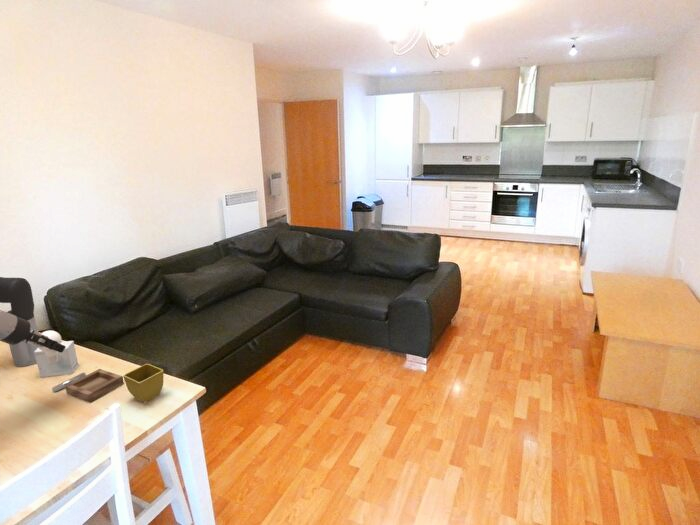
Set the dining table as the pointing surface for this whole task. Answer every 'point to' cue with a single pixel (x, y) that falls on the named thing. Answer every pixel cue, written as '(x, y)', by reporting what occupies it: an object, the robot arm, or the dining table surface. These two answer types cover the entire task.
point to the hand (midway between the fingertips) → (56, 347)
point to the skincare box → (63, 366)
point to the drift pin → (67, 382)
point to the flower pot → (144, 382)
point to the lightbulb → (50, 353)
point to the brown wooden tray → (94, 385)
